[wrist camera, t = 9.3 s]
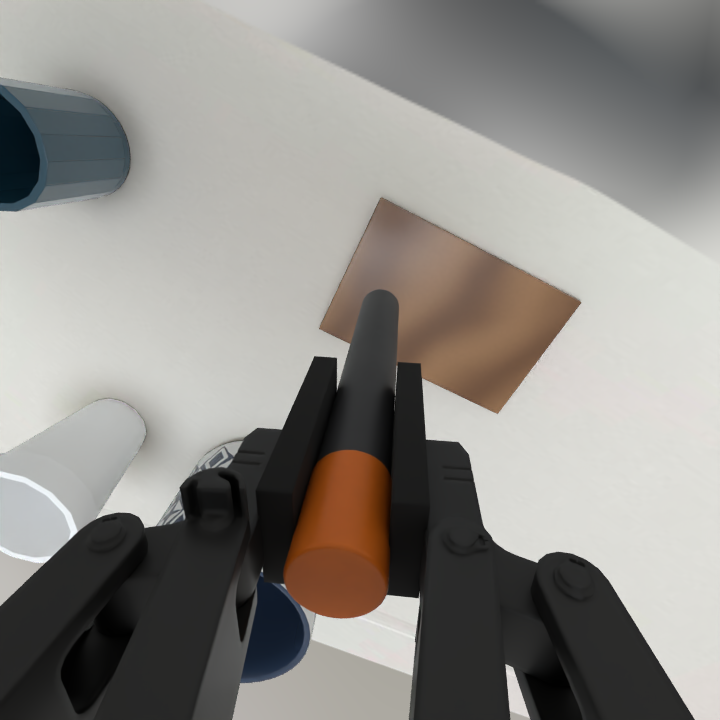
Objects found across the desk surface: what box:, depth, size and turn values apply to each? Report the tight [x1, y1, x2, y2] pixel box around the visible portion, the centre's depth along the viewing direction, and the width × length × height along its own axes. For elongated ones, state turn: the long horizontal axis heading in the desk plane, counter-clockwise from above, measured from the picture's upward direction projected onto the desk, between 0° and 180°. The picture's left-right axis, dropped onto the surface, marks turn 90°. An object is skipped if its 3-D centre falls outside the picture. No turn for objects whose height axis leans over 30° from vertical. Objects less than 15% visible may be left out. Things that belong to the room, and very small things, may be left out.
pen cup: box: [0, 77, 130, 212], centre depth 31 cm, size 7×7×9 cm
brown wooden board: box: [319, 197, 581, 414], centre depth 38 cm, size 18×12×1 cm, turn 64°
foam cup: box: [0, 398, 146, 563], centre depth 40 cm, size 10×9×13 cm
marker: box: [283, 289, 399, 618], centre depth 16 cm, size 2×2×17 cm
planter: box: [157, 441, 316, 683], centre depth 42 cm, size 16×16×14 cm
